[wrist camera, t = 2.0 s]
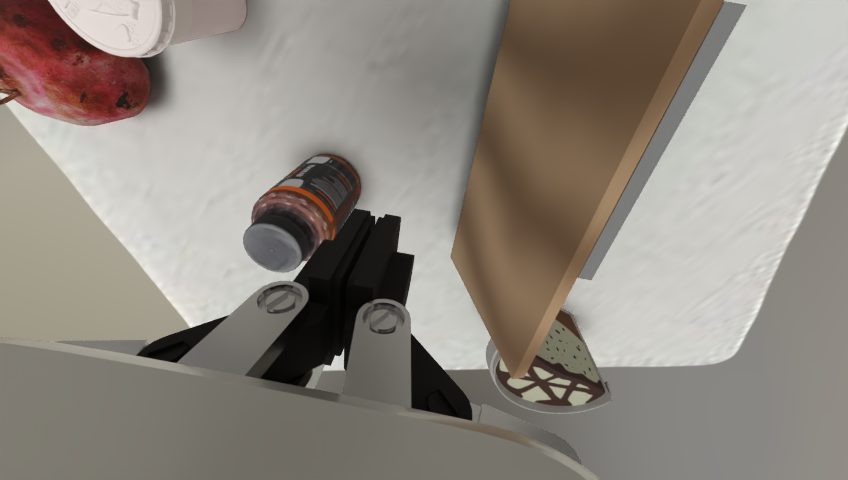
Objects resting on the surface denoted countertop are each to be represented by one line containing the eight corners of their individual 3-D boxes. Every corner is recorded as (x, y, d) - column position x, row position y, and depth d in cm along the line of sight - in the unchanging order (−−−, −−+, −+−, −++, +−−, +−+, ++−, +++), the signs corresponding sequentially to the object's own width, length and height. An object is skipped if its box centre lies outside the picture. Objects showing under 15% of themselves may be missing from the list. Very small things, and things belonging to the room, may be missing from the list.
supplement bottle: (309, 140, 28) (231, 193, 19) (370, 169, 29) (326, 233, 20) (295, 195, 32) (223, 263, 22) (351, 220, 32) (305, 296, 23)
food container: (460, 305, 37) (459, 384, 29) (492, 271, 34) (501, 347, 26) (544, 347, 39) (566, 431, 31) (581, 318, 36) (616, 403, 28)
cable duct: (520, -21, 21) (531, -32, 18) (701, 10, 21) (746, 5, 18) (459, 233, 32) (458, 256, 29) (577, 254, 32) (591, 280, 28)
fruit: (90, -48, 23) (-127, -97, 14) (196, 81, 27) (74, 102, 18) (33, 28, 26) (-173, 24, 17) (135, 134, 30) (8, 171, 22)
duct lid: (531, -32, 18) (518, -35, 17) (768, -84, 8) (746, -92, 8) (458, 256, 29) (450, 256, 28) (524, 377, 19) (512, 379, 19)
